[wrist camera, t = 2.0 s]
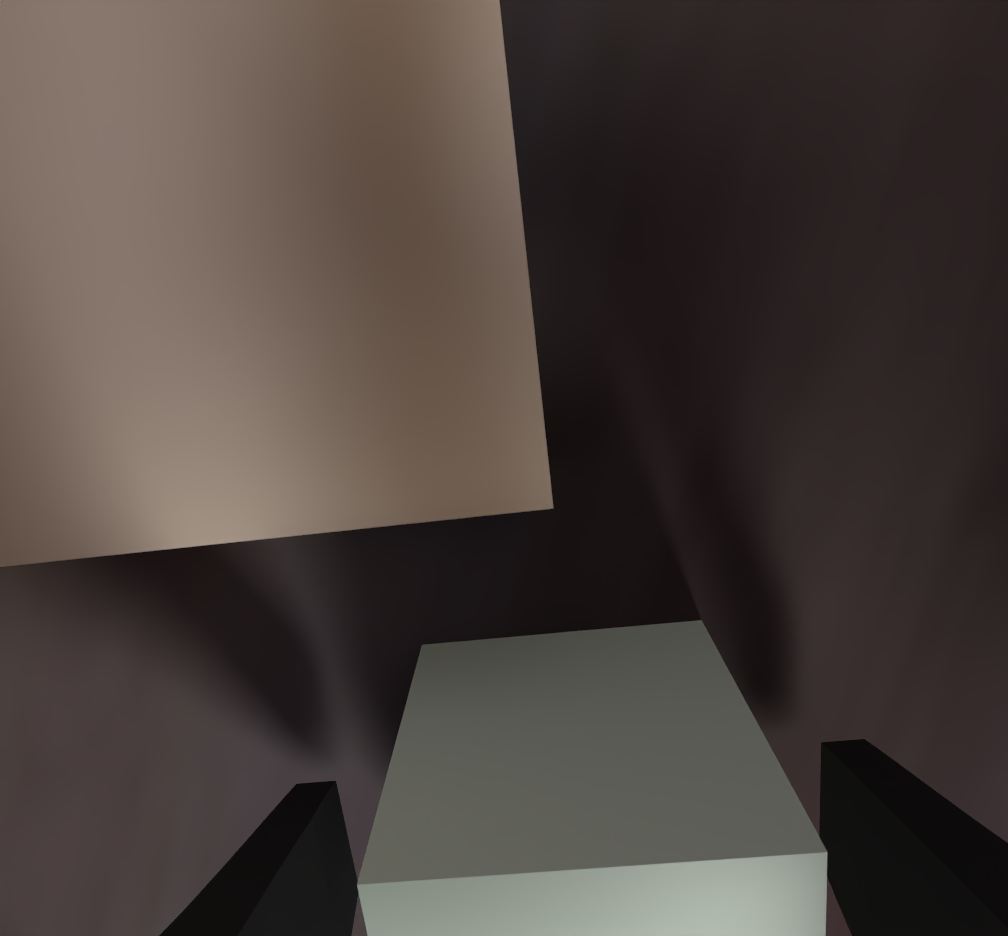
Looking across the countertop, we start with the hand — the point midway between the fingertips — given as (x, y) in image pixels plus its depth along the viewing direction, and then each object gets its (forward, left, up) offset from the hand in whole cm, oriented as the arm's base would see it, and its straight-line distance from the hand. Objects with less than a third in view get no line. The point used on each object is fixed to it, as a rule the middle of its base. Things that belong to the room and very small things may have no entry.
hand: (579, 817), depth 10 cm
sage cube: (0, 0, -2) cm, 2 cm away
